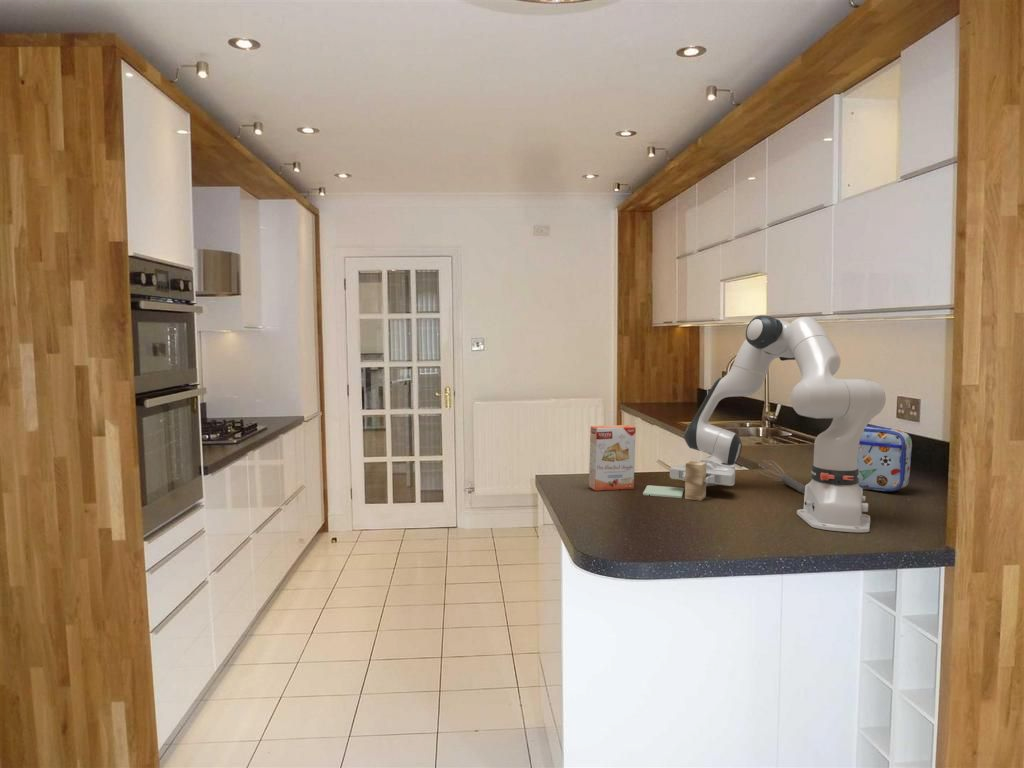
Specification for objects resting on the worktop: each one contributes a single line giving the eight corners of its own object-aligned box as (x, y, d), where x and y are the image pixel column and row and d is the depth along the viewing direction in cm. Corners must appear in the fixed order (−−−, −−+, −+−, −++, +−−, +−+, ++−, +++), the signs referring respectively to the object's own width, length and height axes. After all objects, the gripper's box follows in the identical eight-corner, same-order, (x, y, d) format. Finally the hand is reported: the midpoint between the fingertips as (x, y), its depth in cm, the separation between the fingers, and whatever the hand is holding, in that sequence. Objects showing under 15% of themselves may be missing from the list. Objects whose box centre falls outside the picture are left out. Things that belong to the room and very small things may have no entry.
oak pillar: (705, 497, 213) (706, 462, 212) (700, 500, 209) (701, 465, 208) (689, 495, 216) (690, 461, 215) (684, 498, 212) (685, 463, 211)
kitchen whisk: (800, 497, 216) (801, 477, 216) (754, 475, 250) (754, 458, 249) (819, 496, 217) (820, 477, 216) (770, 475, 250) (771, 458, 250)
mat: (681, 498, 213) (681, 496, 213) (642, 495, 216) (642, 493, 216) (684, 489, 224) (684, 487, 224) (647, 487, 228) (647, 485, 228)
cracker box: (595, 491, 221) (596, 427, 219) (588, 487, 227) (589, 425, 225) (634, 489, 224) (636, 426, 223) (627, 485, 230) (628, 424, 229)
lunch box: (814, 482, 236) (817, 419, 235) (827, 478, 243) (829, 417, 242) (902, 496, 216) (905, 428, 215) (912, 491, 223) (916, 425, 222)
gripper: (677, 459, 228) (662, 465, 217) (739, 465, 217) (727, 473, 206) (677, 477, 229) (662, 485, 217) (739, 485, 218) (727, 493, 206)
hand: (694, 479), depth 211 cm, fingers closed on oak pillar, 5 cm apart
